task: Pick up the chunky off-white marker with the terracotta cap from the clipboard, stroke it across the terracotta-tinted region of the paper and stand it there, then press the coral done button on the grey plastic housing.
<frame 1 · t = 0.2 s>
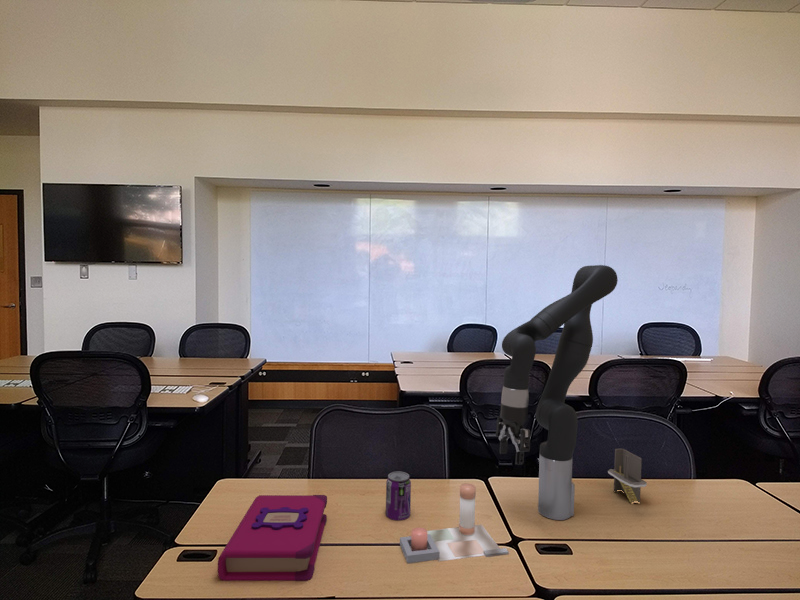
hand: (510, 458, 131), 17 cm above the table, tool pointing down, fingers open, 8 cm apart
marker: (466, 532, 123), point 1 cm above the table, touching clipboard
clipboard: (461, 544, 119), on the table
architectural model: (625, 499, 146), on the table
button housing: (419, 554, 114), on the table
book: (279, 547, 117), on the table
beverage can: (398, 517, 132), on the table
done button: (419, 539, 114), point 4 cm above the table, slide at 0.0 cm
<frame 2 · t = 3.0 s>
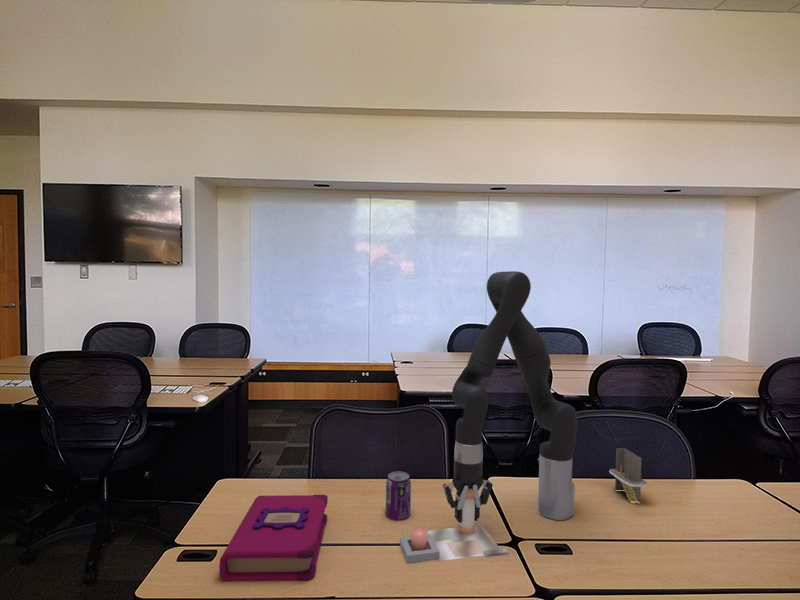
hand: (466, 520, 123), 4 cm above the table, tool pointing down, fingers closed on marker, 4 cm apart
marker: (466, 532, 123), point 1 cm above the table, touching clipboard, gripper
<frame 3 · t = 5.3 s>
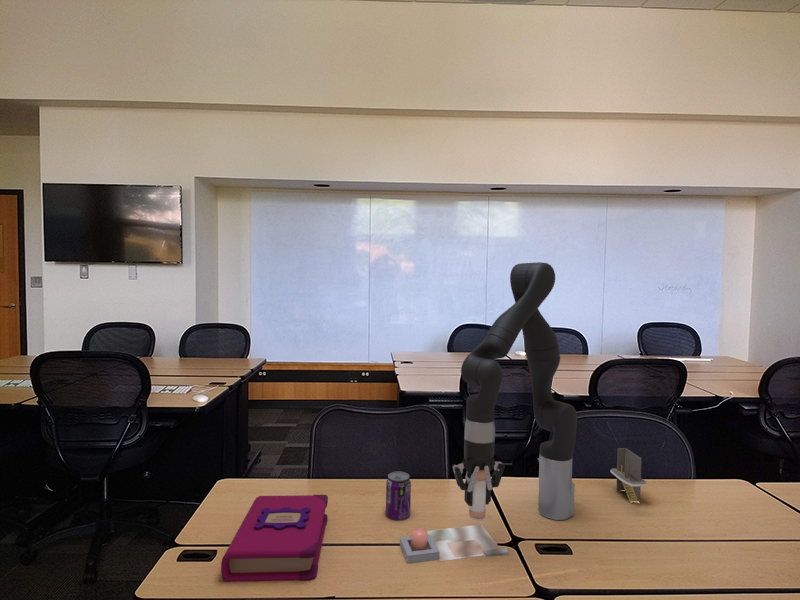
hand: (477, 503, 116), 12 cm above the table, tool pointing down, fingers closed on marker, 4 cm apart
marker: (477, 516, 116), point 9 cm above the table, touching gripper
when the fingers open (4 cm above the table, at t = 7.9 s): marker stays where it is, resting on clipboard.
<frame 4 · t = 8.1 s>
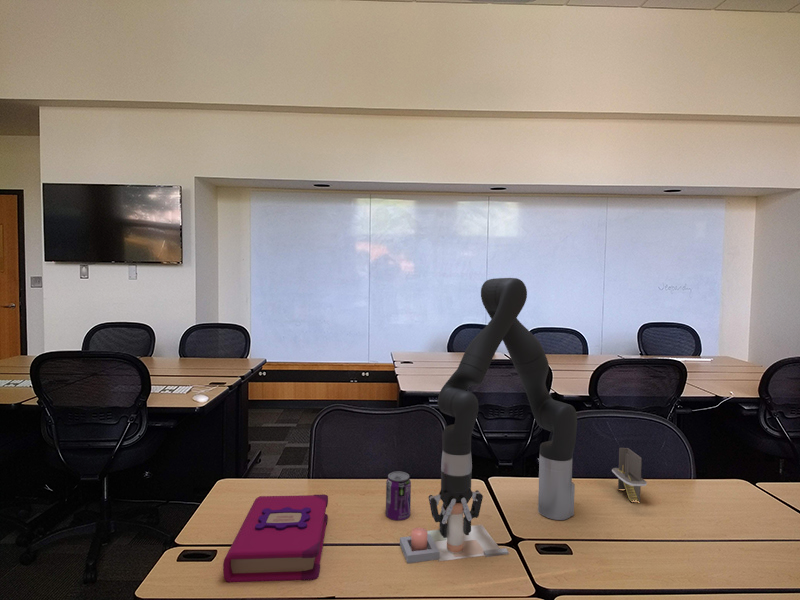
hand: (455, 534, 115), 5 cm above the table, tool pointing down, fingers open, 5 cm apart
marker: (454, 549, 115), point 1 cm above the table, touching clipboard
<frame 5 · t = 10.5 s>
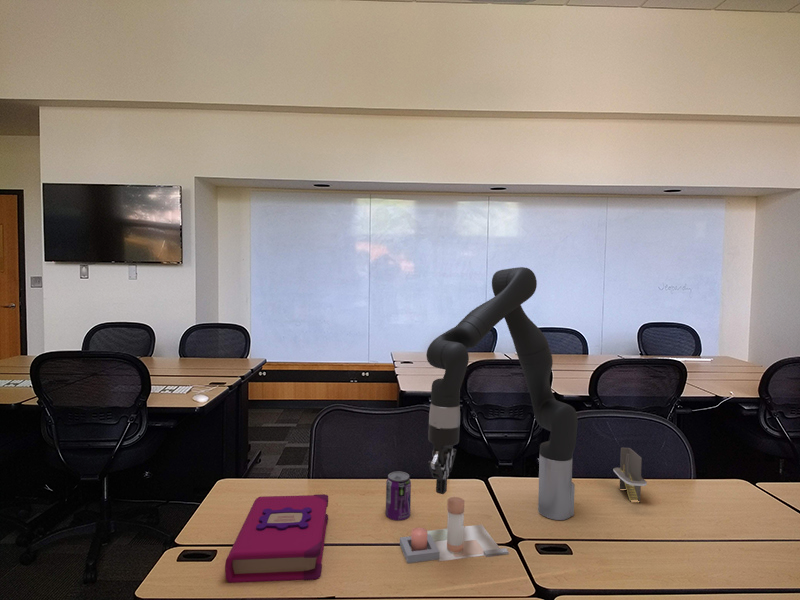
hand: (441, 492, 112), 16 cm above the table, tool pointing down, fingers closed
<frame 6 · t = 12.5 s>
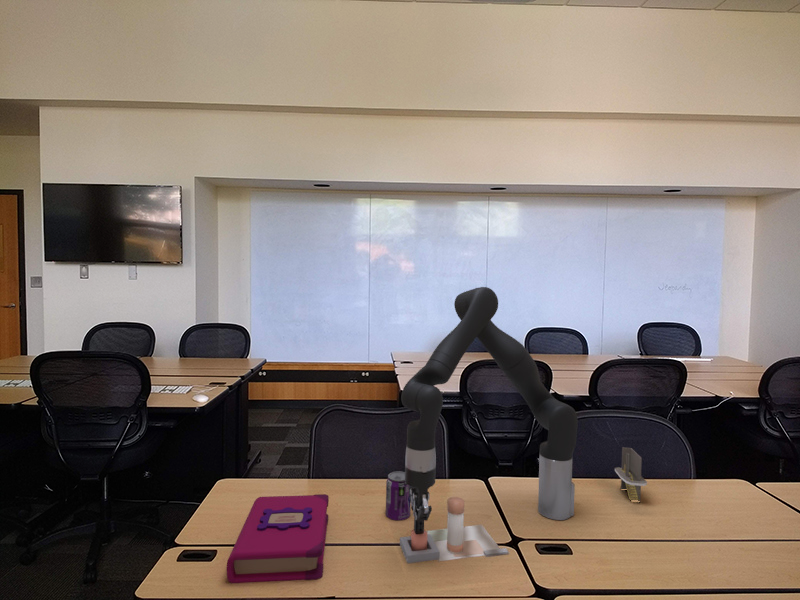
hand: (418, 532, 114), 5 cm above the table, tool pointing down, fingers closed
done button: (419, 540, 114), point 3 cm above the table, slide at 0.2 cm, touching gripper
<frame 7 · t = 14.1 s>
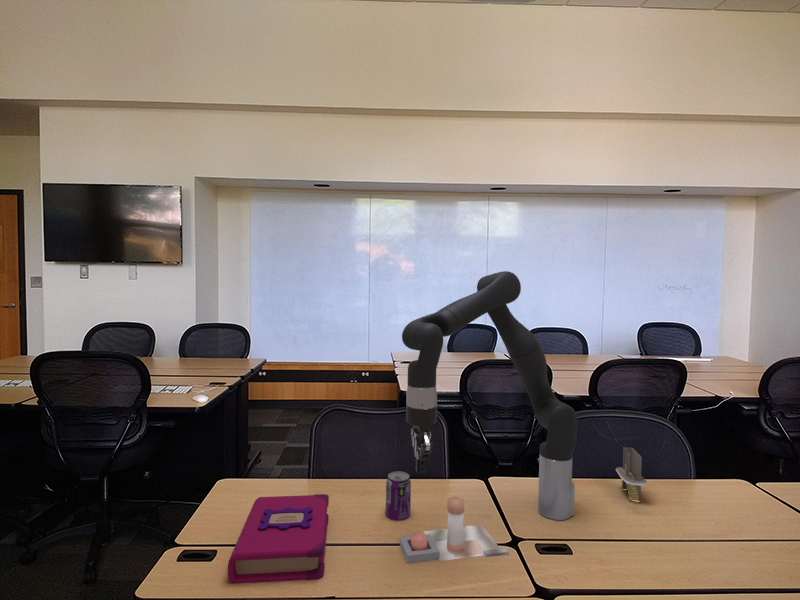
hand: (420, 472, 113), 21 cm above the table, tool pointing down, fingers closed
done button: (419, 544, 114), point 2 cm above the table, slide at 1.3 cm
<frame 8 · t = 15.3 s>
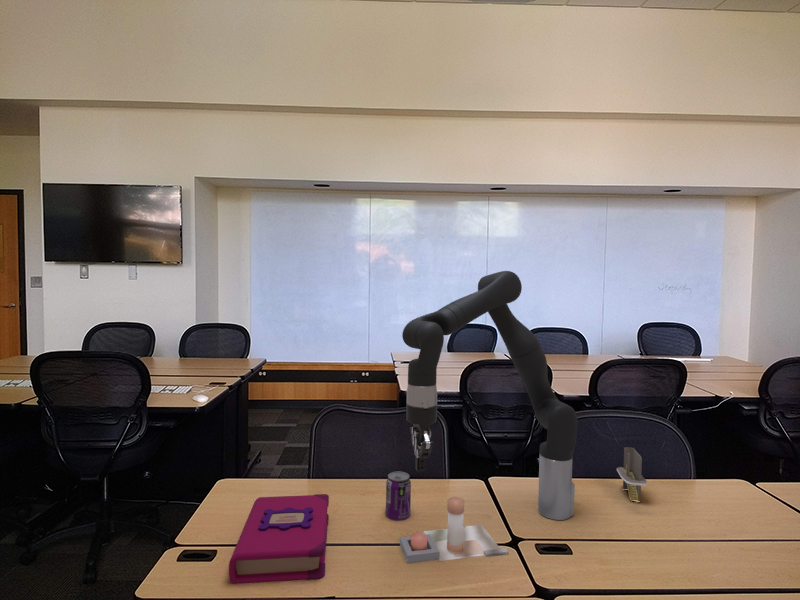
hand: (420, 471, 113), 21 cm above the table, tool pointing down, fingers closed
at the end: marker inside the target area (2.9 cm from its centre), point 0.8 cm above the table; marker tilted 0°; done button slide at 1.3 cm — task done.
